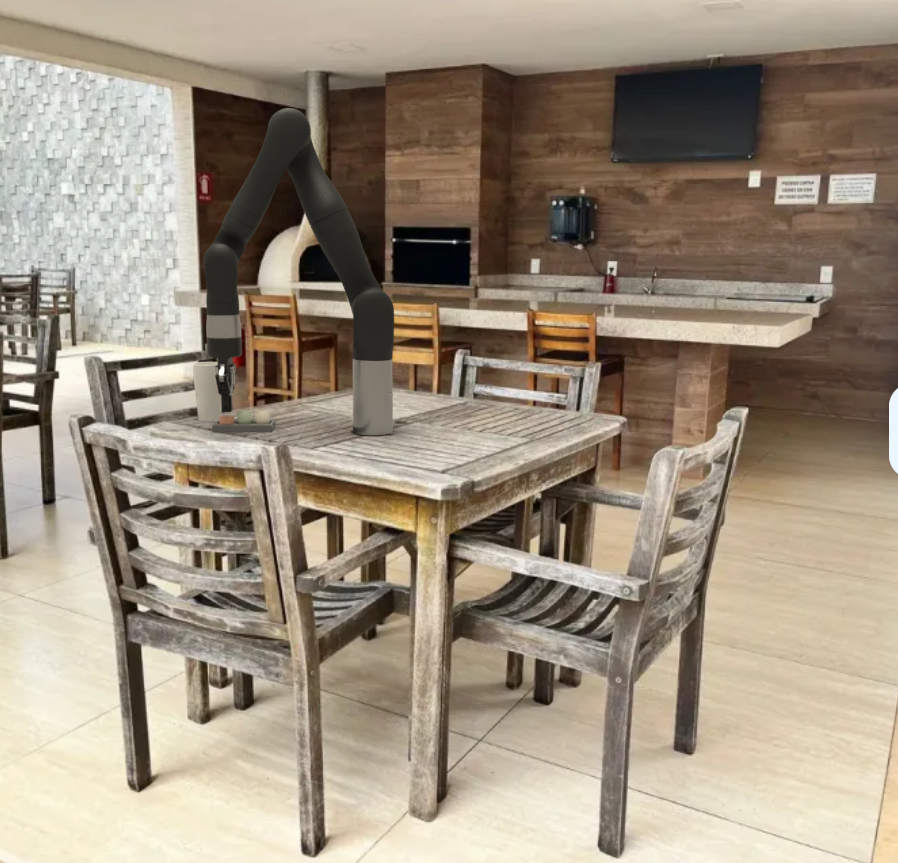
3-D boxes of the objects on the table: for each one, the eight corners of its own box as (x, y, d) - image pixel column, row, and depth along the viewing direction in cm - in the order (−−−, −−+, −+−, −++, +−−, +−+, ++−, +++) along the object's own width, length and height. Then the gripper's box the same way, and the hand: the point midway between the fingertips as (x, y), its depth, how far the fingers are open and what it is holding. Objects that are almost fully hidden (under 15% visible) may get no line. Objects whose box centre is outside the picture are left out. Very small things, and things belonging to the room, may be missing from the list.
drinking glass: (195, 428, 211) (193, 365, 208) (195, 423, 217) (193, 361, 214) (225, 427, 213) (222, 364, 210) (224, 422, 219) (222, 361, 216)
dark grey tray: (275, 431, 208) (275, 419, 207) (272, 438, 200) (271, 425, 200) (218, 432, 207) (218, 419, 206) (212, 438, 199) (212, 425, 198)
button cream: (270, 427, 205) (270, 410, 204) (269, 430, 202) (268, 412, 201) (256, 427, 205) (256, 410, 204) (254, 430, 202) (254, 412, 201)
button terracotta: (235, 432, 205) (234, 415, 204) (233, 435, 202) (232, 417, 201) (221, 432, 204) (220, 415, 204) (218, 435, 201) (218, 417, 201)
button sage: (252, 427, 205) (252, 410, 204) (251, 430, 202) (250, 412, 201) (238, 427, 205) (238, 410, 204) (236, 430, 201) (236, 412, 201)
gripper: (236, 337, 193) (239, 416, 196) (245, 332, 206) (248, 407, 209) (201, 337, 192) (205, 417, 195) (212, 332, 205) (215, 407, 208)
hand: (227, 411), depth 202 cm, fingers closed
